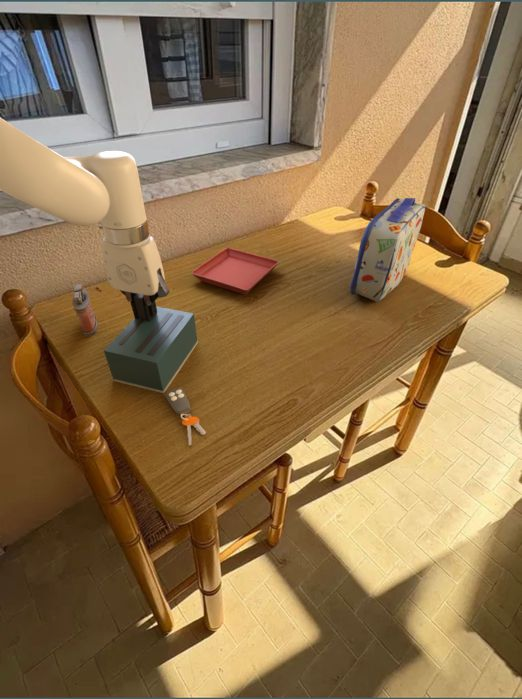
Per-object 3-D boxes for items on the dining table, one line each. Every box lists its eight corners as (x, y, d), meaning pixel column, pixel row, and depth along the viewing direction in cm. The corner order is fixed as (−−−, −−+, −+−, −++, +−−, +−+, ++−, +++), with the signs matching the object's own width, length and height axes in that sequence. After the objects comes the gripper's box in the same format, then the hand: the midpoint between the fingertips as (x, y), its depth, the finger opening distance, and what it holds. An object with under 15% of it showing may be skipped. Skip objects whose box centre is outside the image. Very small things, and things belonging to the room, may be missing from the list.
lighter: (83, 317, 92) (69, 281, 85) (97, 315, 92) (86, 278, 86) (81, 337, 86) (67, 300, 79) (97, 334, 87) (84, 297, 80)
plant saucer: (191, 282, 104) (189, 271, 102) (227, 256, 116) (226, 246, 114) (247, 301, 98) (247, 290, 96) (279, 271, 110) (280, 260, 108)
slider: (138, 318, 78) (133, 296, 74) (145, 311, 80) (140, 290, 76) (146, 320, 77) (141, 298, 74) (152, 312, 79) (148, 291, 76)
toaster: (113, 381, 76) (102, 350, 70) (153, 333, 87) (146, 303, 82) (163, 393, 73) (156, 362, 68) (198, 342, 85) (194, 312, 80)
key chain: (163, 397, 73) (162, 391, 72) (182, 390, 74) (181, 384, 73) (189, 447, 64) (188, 442, 63) (209, 438, 66) (209, 432, 65)
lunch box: (377, 259, 116) (394, 184, 102) (411, 268, 112) (434, 191, 98) (343, 301, 98) (358, 217, 84) (382, 313, 94) (405, 228, 80)
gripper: (74, 233, 66) (102, 319, 78) (157, 246, 62) (172, 334, 74) (100, 217, 71) (122, 300, 83) (177, 228, 68) (189, 313, 80)
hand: (145, 315), depth 79 cm, fingers closed
